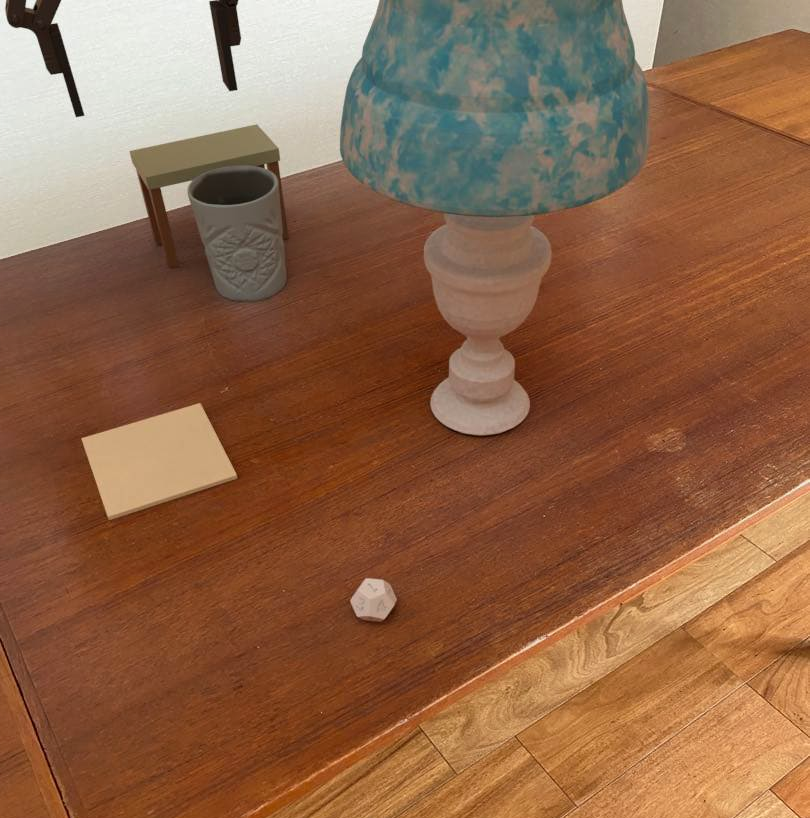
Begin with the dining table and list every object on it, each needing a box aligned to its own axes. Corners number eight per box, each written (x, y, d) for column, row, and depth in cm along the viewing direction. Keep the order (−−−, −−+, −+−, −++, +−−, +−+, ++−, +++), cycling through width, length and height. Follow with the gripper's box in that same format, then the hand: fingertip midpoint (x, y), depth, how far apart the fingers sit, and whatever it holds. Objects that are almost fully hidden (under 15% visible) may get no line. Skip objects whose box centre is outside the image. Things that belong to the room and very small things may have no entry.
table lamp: (499, 528, 75) (541, 8, 46) (311, 414, 86) (247, -62, 57) (647, 398, 87) (756, -83, 57) (464, 313, 98) (477, -126, 69)
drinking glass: (255, 314, 99) (237, 214, 90) (189, 290, 103) (166, 192, 94) (309, 273, 105) (297, 176, 96) (244, 252, 109) (227, 156, 100)
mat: (82, 441, 84) (81, 438, 84) (201, 406, 88) (200, 402, 87) (109, 520, 77) (107, 516, 77) (237, 478, 80) (237, 474, 80)
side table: (152, 241, 111) (129, 150, 103) (270, 212, 116) (257, 124, 107) (168, 269, 106) (145, 177, 98) (290, 239, 111) (278, 148, 102)
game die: (383, 588, 71) (381, 563, 69) (404, 619, 69) (403, 595, 66) (344, 604, 70) (341, 580, 68) (365, 636, 68) (362, 613, 65)
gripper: (-103, -192, 57) (14, 138, 72) (266, -224, 62) (301, 89, 78) (-101, -206, 61) (8, 106, 77) (242, -235, 67) (279, 62, 83)
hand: (155, 98), depth 77 cm, fingers open, 13 cm apart
